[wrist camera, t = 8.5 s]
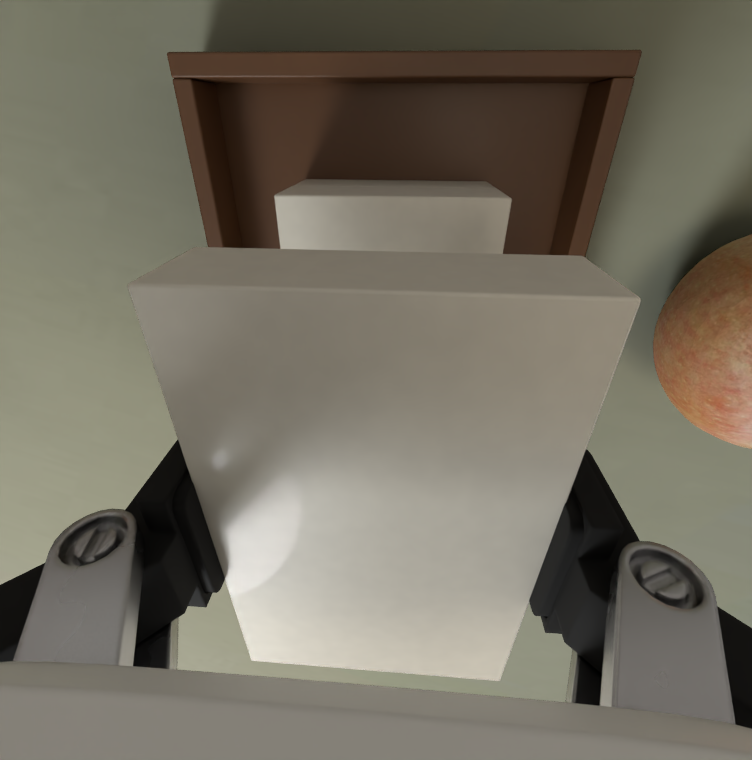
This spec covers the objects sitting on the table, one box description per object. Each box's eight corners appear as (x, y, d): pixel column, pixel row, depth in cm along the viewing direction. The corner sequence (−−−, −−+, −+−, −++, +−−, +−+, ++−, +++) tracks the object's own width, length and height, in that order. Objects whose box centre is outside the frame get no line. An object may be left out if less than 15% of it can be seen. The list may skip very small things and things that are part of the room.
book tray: (200, 62, 13) (165, 51, 11) (607, 60, 13) (643, 49, 11) (270, 450, 23) (257, 480, 21) (509, 462, 22) (519, 494, 20)
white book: (193, 246, 7) (124, 284, 5) (584, 254, 7) (644, 298, 5) (272, 589, 12) (250, 661, 11) (487, 604, 12) (500, 682, 10)
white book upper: (290, 185, 13) (273, 194, 11) (498, 188, 13) (512, 197, 11) (315, 435, 18) (305, 466, 17) (460, 442, 18) (465, 474, 16)
